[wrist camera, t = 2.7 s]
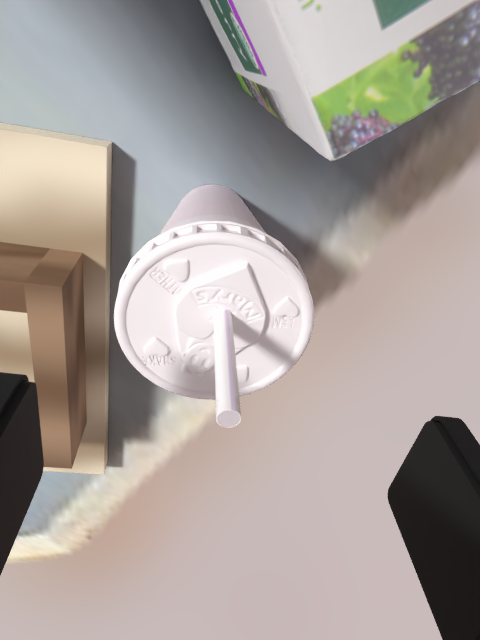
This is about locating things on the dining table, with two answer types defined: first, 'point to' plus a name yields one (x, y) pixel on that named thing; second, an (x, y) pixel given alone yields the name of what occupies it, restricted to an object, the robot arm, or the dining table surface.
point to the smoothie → (213, 304)
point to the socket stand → (58, 286)
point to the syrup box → (348, 61)
